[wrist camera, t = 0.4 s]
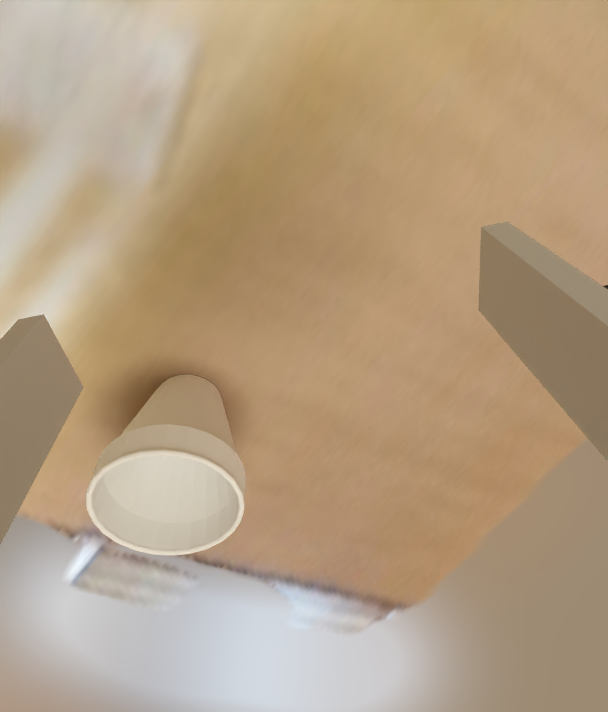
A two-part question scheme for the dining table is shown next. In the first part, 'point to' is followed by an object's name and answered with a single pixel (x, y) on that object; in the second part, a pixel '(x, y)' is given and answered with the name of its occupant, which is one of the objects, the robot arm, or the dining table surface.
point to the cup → (171, 474)
